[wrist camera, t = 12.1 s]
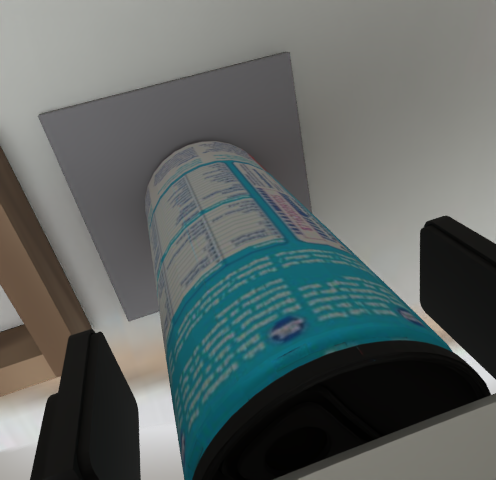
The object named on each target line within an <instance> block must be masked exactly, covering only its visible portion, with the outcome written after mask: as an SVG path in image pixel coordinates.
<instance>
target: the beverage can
mask: <svg viewBox="0 0 496 480" xmlns="http://www.w3.org/2000/svg"><path fill="white" fill-rule="evenodd" d="M145 213H146V217H147V224H148V231H149V239H150V246H151V253H152V261H153V268H154V275H155V283H156V290H157V297H158V305H159V312H160V319H161V326H162V333H163V340H164V347H165V354H166V361H167V367H168V374H169V381H170V388H171V395H172V402H173V409H174V415H175V421H176V428H177V434H178V441H179V447H180V454H181V460H182V467H183V473H184V480H273V479H276V478H278V477H281V476H283V475H286V474H288V473H291V472H293V471H296V470H299V469H301V468H304V467H306V466H309V465H311V464H314V463H316V462H319V461H321V460H324V459H326V458H329V457H332V456H334V455H337V454H339V453H342V452H345V451H347V450H350V449H352V448H355V447H357V446H360V445H363V444H365V443H368V442H370V441H373V440H375V439H378V438H381V437H383V436H386V435H388V434H391V433H394V432H396V431H399V430H401V429H404V428H406V427H409V426H412V425H414V424H417V423H419V422H422V421H425V420H427V419H430V418H432V417H435V416H438V415H440V414H443V413H445V412H448V411H451V410H453V409H456V408H459V407H461V406H464V405H466V404H469V403H472V402H474V401H477V400H480V399H482V398H485V397H487V396H490V395H491V394H490V392H489V389H488V387H487V385H486V383H485V382H484V380H483V379H482V378H481V377H480V376H479V375H478V373H477V372H476V371H475V370H474V369H473V368H472V367H471V366H470V365H468V364H467V363H466V362H465V361H464V360H463V359H462V358H460V357H459V356H458V355H456V354H455V353H453V352H452V350H451V349H450V347H449V346H448V345H447V344H446V343H445V342H444V341H443V340H442V339H441V338H440V337H439V336H438V335H437V334H436V333H435V332H434V331H433V330H432V329H431V328H430V327H429V326H428V325H427V324H426V323H425V322H424V321H423V320H422V319H421V318H420V317H419V316H418V315H417V314H416V313H415V312H414V311H413V310H412V309H411V308H410V307H409V306H408V305H407V304H406V303H405V302H404V301H403V300H401V299H400V298H399V297H398V296H397V295H396V294H395V293H394V292H393V291H392V290H391V289H390V288H389V287H388V286H387V285H386V284H385V283H384V282H383V281H382V280H381V279H380V278H379V277H378V276H377V275H376V274H375V273H374V272H373V271H371V270H370V269H369V268H368V267H367V266H366V265H365V264H364V263H363V262H362V261H361V260H360V259H359V258H358V257H357V256H356V255H355V254H354V253H353V252H352V251H351V250H350V249H349V248H348V247H346V246H345V245H344V244H343V243H342V242H341V241H340V240H339V239H338V238H337V237H336V236H335V235H334V234H333V233H332V232H331V231H330V230H329V229H328V228H327V227H326V226H325V225H323V224H322V223H321V222H320V221H319V220H318V219H317V218H316V217H315V216H314V215H313V214H312V213H311V212H310V211H309V210H308V209H307V208H305V207H304V206H303V205H302V204H301V203H300V202H299V201H298V200H297V199H296V198H295V197H294V196H293V195H292V194H291V193H290V192H289V191H287V190H286V189H285V188H284V187H283V186H282V185H281V184H280V183H279V182H278V181H277V180H276V179H275V178H274V177H273V176H272V175H271V174H269V173H268V172H267V171H266V170H265V169H264V168H263V167H262V166H261V165H260V164H259V163H258V162H257V161H256V160H255V159H254V158H253V157H252V156H251V155H249V154H248V153H247V152H245V151H244V150H243V149H241V148H238V147H236V146H234V145H232V144H229V143H224V142H218V141H202V142H198V143H194V144H190V145H187V146H185V147H183V148H181V149H179V150H177V151H175V152H173V153H172V154H171V155H170V156H168V157H167V158H166V159H165V160H163V162H162V163H161V164H160V165H159V167H158V168H157V169H156V170H155V172H154V173H153V175H152V178H151V180H150V182H149V184H148V187H147V192H146V196H145Z"/></svg>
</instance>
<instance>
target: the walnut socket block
mask: <svg viewBox="0 0 496 480" xmlns="http://www.w3.org/2000/svg"><path fill="white" fill-rule="evenodd" d="M0 284H1V286H2V288H3V289H4V291H5V293H6V294H7V296H8V298H9V299H10V301H11V303H12V304H13V306H14V308H15V309H16V311H17V313H18V314H19V316H20V318H21V319H22V321H23V323H24V324H25V325H21V326H18V327H15V328H12V329H9V330H6V331H3V332H0V397H1V396H4V395H7V394H10V393H13V392H16V391H19V390H22V389H24V388H27V387H30V386H33V385H36V384H39V383H42V382H45V381H48V380H51V379H54V378H56V377H59V376H61V375H62V370H63V364H64V359H65V353H66V348H67V342H68V338H69V336H70V335H74V334H77V333H80V332H83V331H86V330H89V329H92V327H91V326H90V324H89V322H88V320H87V318H86V316H85V314H84V312H83V310H82V308H81V306H80V304H79V302H78V300H77V298H76V296H75V294H74V292H73V290H72V288H71V286H70V284H69V282H68V280H67V278H66V276H65V274H64V272H63V270H62V268H61V266H60V264H59V262H58V260H57V258H56V256H55V254H54V252H53V250H52V248H51V246H50V244H49V242H48V240H47V238H46V236H45V234H44V232H43V230H42V228H41V226H40V224H39V222H38V220H37V218H36V216H35V214H34V212H33V210H32V208H31V206H30V204H29V202H28V200H27V198H26V196H25V194H24V192H23V190H22V188H21V186H20V184H19V182H18V180H17V178H16V176H15V174H14V172H13V170H12V168H11V166H10V164H9V162H8V160H7V158H6V156H5V154H4V152H3V150H2V148H1V146H0Z"/></svg>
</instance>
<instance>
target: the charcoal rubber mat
mask: <svg viewBox="0 0 496 480" xmlns="http://www.w3.org/2000/svg"><path fill="white" fill-rule="evenodd" d="M38 117H39V120H40V122H41V124H42V126H43V129H44V131H45V133H46V135H47V138H48V140H49V142H50V144H51V147H52V149H53V151H54V153H55V156H56V158H57V160H58V163H59V165H60V167H61V169H62V172H63V174H64V176H65V178H66V181H67V183H68V185H69V187H70V190H71V192H72V194H73V197H74V199H75V201H76V203H77V206H78V208H79V210H80V212H81V215H82V217H83V219H84V221H85V224H86V226H87V228H88V230H89V233H90V235H91V237H92V240H93V242H94V244H95V246H96V249H97V251H98V253H99V255H100V258H101V260H102V262H103V264H104V267H105V269H106V271H107V274H108V276H109V278H110V280H111V283H112V285H113V287H114V289H115V292H116V294H117V296H118V298H119V301H120V303H121V305H122V307H123V310H124V312H125V314H126V317H127V319H128V321H131V320H134V319H137V318H140V317H143V316H146V315H149V314H152V313H155V312H158V311H159V305H158V297H157V290H156V283H155V275H154V268H153V261H152V253H151V246H150V239H149V231H148V224H147V217H146V213H145V196H146V192H147V187H148V184H149V182H150V180H151V178H152V175H153V173H154V172H155V170H156V169H157V168H158V167H159V165H160V164H161V163H162V162H163V160H165V159H166V158H167V157H168V156H170V155H171V154H172V153H173V152H175V151H177V150H179V149H181V148H183V147H185V146H187V145H190V144H194V143H198V142H202V141H218V142H224V143H229V144H232V145H234V146H236V147H238V148H241V149H243V150H244V151H245V152H247V153H248V154H249V155H251V156H252V157H253V158H254V159H255V160H256V161H257V162H258V163H259V164H260V165H261V166H262V167H263V168H264V169H265V170H266V171H267V172H268V173H269V174H271V175H272V176H273V177H274V178H275V179H276V180H277V181H278V182H279V183H280V184H281V185H282V186H283V187H284V188H285V189H286V190H287V191H289V192H290V193H291V194H292V195H293V196H294V197H295V198H296V199H297V200H298V201H299V202H300V203H301V204H302V205H303V206H304V207H305V208H307V209H308V210H309V211H310V212H311V213H312V210H311V203H310V195H309V188H308V181H307V174H306V167H305V160H304V153H303V145H302V138H301V131H300V124H299V117H298V110H297V102H296V95H295V88H294V81H293V74H292V67H291V60H290V52H283V53H279V54H275V55H271V56H267V57H263V58H259V59H255V60H251V61H248V62H244V63H240V64H236V65H232V66H228V67H224V68H220V69H216V70H212V71H208V72H204V73H200V74H196V75H192V76H188V77H184V78H180V79H176V80H172V81H169V82H165V83H161V84H157V85H153V86H149V87H145V88H141V89H137V90H133V91H129V92H125V93H121V94H117V95H113V96H109V97H105V98H101V99H97V100H93V101H89V102H86V103H82V104H78V105H74V106H70V107H66V108H62V109H58V110H54V111H50V112H46V113H42V114H40V115H39V116H38Z"/></svg>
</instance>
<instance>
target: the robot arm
mask: <svg viewBox="0 0 496 480" xmlns="http://www.w3.org/2000/svg"><path fill="white" fill-rule="evenodd" d="M420 303H421V306H422V308H423V310H424V311H425V312H426V313H427V314H428V315H429V316H430V317H431V318H432V319H433V320H434V321H435V322H436V323H437V324H438V325H439V326H440V327H441V328H442V329H443V330H445V331H446V332H447V333H448V334H449V335H450V336H451V337H452V338H453V339H454V340H455V341H456V342H457V343H458V344H459V345H460V346H461V347H462V348H463V349H464V350H465V351H466V352H468V353H469V354H470V355H471V356H472V357H473V358H474V359H475V360H476V361H477V362H478V363H479V364H480V365H481V366H482V367H483V368H485V370H486V371H488V373H490V374H491V375H492V376H493V377H494V378H495V379H496V244H495V243H493V242H491V241H490V240H488V239H486V238H485V237H483V236H481V235H479V234H478V233H476V232H474V231H473V230H471V229H469V228H468V227H466V226H464V225H463V224H461V223H459V222H457V221H456V220H454V219H452V218H451V217H449V216H442V217H439V218H436V219H433V220H430V221H427V222H426V223H425V225H424V228H422V229H421V231H420ZM30 480H141V479H140V449H139V417H138V407H137V403H136V400H135V398H134V396H133V394H132V392H131V390H130V387H129V385H128V383H127V381H126V379H125V377H124V375H123V373H122V371H121V369H120V367H119V365H118V363H117V361H116V359H115V357H114V355H113V353H112V351H111V349H110V347H109V345H108V343H107V341H106V339H105V337H104V335H103V333H102V332H98V333H95V332H94V331H93V330H92V329H89V330H86V331H83V332H80V333H77V334H74V335H70V336H69V338H68V342H67V348H66V353H65V359H64V364H63V370H62V375H61V380H60V386H59V391H58V393H56V394H53V395H51V396H50V397H49V398H48V400H47V403H46V407H45V411H44V416H43V421H42V426H41V430H40V435H39V440H38V445H37V450H36V455H35V459H34V464H33V469H32V473H31V478H30ZM273 480H496V393H495V394H493V395H490V396H487V397H485V398H482V399H480V400H477V401H474V402H472V403H469V404H466V405H464V406H461V407H459V408H456V409H453V410H451V411H448V412H445V413H443V414H440V415H438V416H435V417H432V418H430V419H427V420H425V421H422V422H419V423H417V424H414V425H412V426H409V427H406V428H404V429H401V430H399V431H396V432H394V433H391V434H388V435H386V436H383V437H381V438H378V439H375V440H373V441H370V442H368V443H365V444H363V445H360V446H357V447H355V448H352V449H350V450H347V451H345V452H342V453H339V454H337V455H334V456H332V457H329V458H326V459H324V460H321V461H319V462H316V463H314V464H311V465H309V466H306V467H304V468H301V469H299V470H296V471H293V472H291V473H288V474H286V475H283V476H281V477H278V478H276V479H273Z"/></svg>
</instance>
